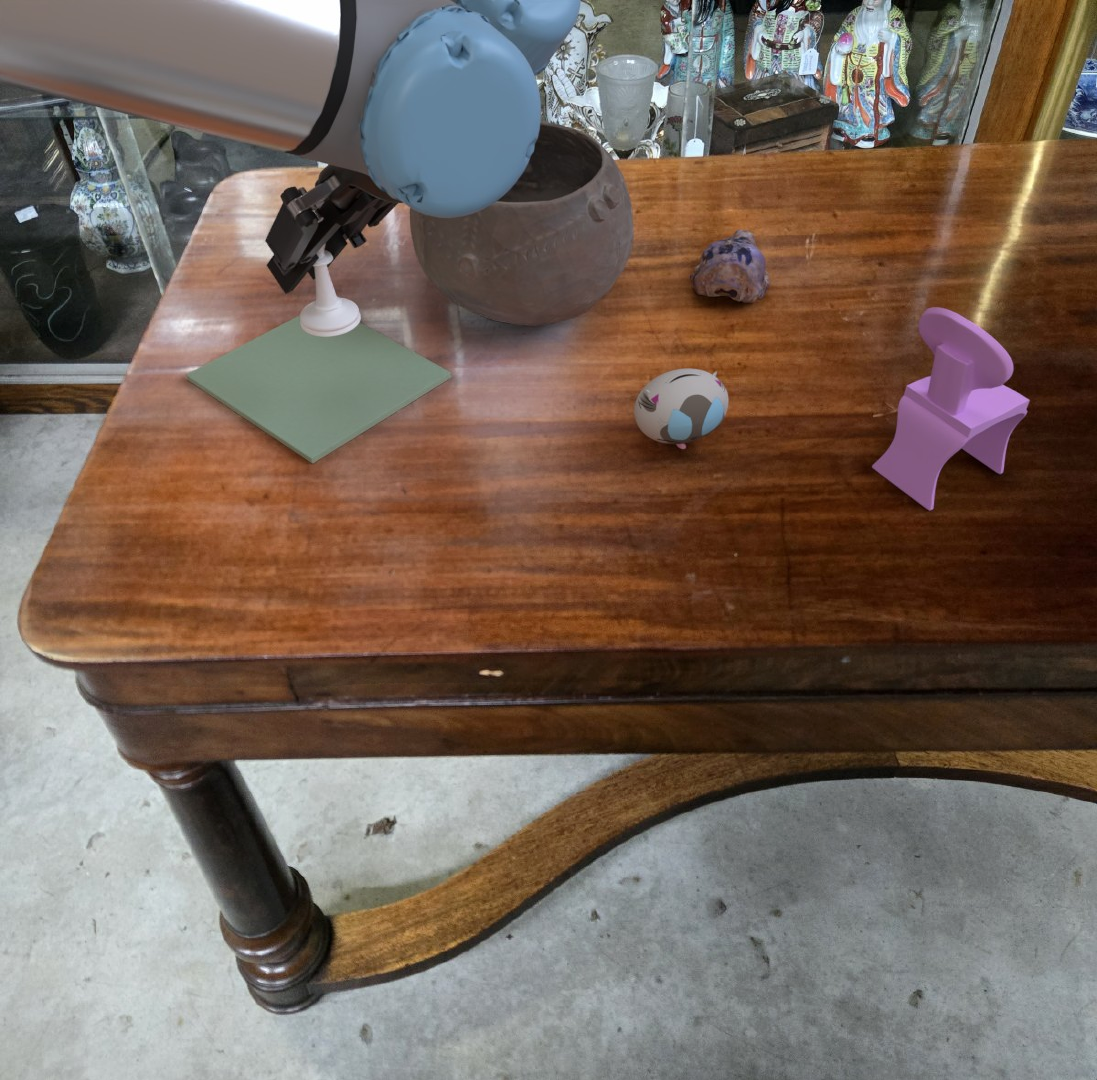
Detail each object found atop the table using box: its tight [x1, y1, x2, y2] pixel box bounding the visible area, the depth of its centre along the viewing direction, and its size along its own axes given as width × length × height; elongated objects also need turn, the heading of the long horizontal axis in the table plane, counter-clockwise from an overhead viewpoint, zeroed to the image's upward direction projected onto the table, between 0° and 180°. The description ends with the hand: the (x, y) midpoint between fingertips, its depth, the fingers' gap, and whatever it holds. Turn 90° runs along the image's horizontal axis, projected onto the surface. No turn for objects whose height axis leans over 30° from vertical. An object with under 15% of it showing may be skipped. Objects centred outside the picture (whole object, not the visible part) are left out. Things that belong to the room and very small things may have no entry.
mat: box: [185, 314, 452, 465], centre depth 94 cm, size 16×18×1 cm
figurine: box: [633, 367, 730, 450], centre depth 85 cm, size 8×6×7 cm
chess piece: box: [299, 244, 362, 337], centre depth 81 cm, size 5×5×10 cm
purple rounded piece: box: [689, 229, 772, 304], centre depth 103 cm, size 12×8×6 cm, turn 154°
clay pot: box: [409, 121, 635, 327], centre depth 98 cm, size 21×21×15 cm
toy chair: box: [871, 306, 1031, 512], centre depth 79 cm, size 8×9×15 cm
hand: (293, 270), depth 85 cm, fingers closed on chess piece, 2 cm apart
